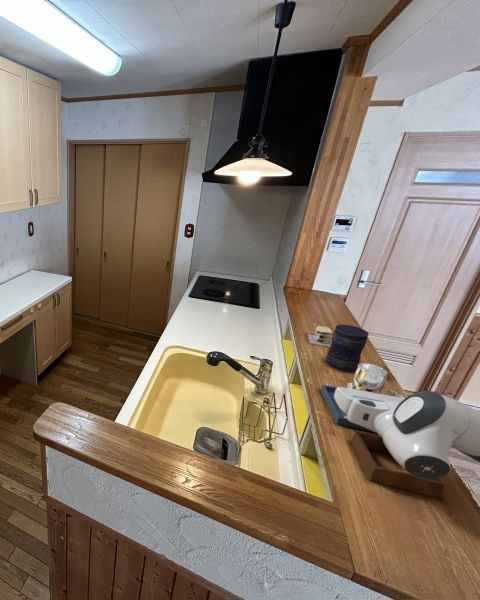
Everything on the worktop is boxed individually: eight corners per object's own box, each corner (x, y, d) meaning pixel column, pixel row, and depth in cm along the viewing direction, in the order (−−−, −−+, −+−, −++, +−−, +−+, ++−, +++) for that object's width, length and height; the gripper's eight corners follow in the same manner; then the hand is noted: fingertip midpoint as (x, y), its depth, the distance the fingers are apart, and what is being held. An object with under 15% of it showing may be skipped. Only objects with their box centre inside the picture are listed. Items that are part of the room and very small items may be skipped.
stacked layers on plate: (307, 333, 149) (310, 323, 147) (330, 338, 145) (334, 326, 143) (309, 343, 141) (312, 331, 139) (334, 347, 137) (338, 336, 135)
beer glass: (341, 410, 99) (356, 369, 94) (344, 400, 104) (358, 359, 99) (371, 421, 95) (388, 378, 89) (372, 409, 100) (389, 368, 94)
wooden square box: (409, 456, 84) (415, 444, 82) (438, 497, 73) (445, 485, 72) (350, 442, 88) (354, 431, 87) (369, 480, 77) (374, 467, 76)
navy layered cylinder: (333, 356, 131) (344, 322, 125) (362, 368, 122) (374, 332, 117) (319, 362, 126) (329, 327, 121) (347, 374, 118) (360, 338, 113)
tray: (375, 400, 105) (378, 394, 104) (402, 438, 90) (405, 431, 89) (320, 390, 110) (322, 384, 109) (336, 424, 95) (338, 417, 94)
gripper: (451, 420, 77) (420, 387, 89) (348, 400, 85) (331, 372, 97) (441, 440, 80) (412, 406, 92) (341, 419, 87) (326, 390, 99)
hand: (370, 388), depth 94 cm, fingers open, 8 cm apart
